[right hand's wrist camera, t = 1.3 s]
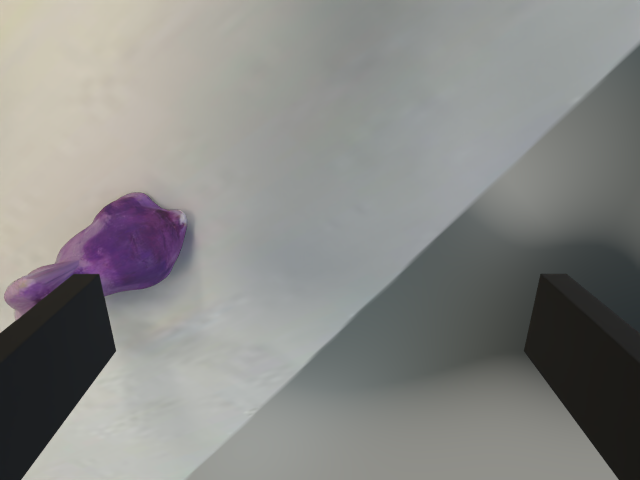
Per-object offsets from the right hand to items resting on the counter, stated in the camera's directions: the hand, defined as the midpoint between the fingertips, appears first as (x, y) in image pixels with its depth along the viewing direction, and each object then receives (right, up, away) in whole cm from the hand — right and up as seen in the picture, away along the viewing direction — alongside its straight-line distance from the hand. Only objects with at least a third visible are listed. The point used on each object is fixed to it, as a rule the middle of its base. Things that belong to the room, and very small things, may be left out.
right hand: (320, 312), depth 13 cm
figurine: (-18, +2, +28) cm, 33 cm away
